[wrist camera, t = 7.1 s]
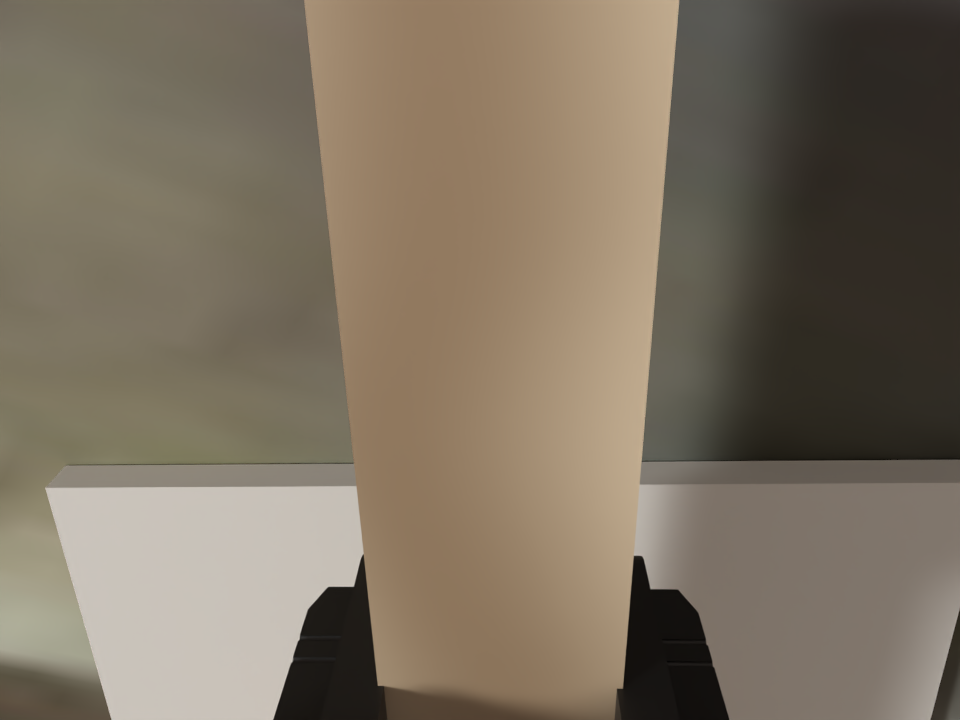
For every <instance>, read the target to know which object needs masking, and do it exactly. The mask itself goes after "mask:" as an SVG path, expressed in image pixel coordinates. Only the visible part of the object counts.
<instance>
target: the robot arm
mask: <svg viewBox="0 0 960 720" xmlns="http://www.w3.org/2000/svg"><path fill="white" fill-rule="evenodd" d="M273 720H387V712H386V702H385V692H384V686H378V682H377V673H376V664H375V654H374V645H373V636H372V626H371V617H370V608H369V599H368V589H367V580H366V571H365V561H364V554H363V555H362V557H361V560H360V564H359V568H358V572H357V576H356V580H355V584H354V587H327V589H326V590H325V591H324V592H323V593H322V594H321V595H320V596H319V597H318V599H317V600H316V601H315V602H314V603H313V604H312V605H311V606H310V607H309V609H308V610H307V614H306V617H305V620H304V623H303V626H302V630H301V633H300V640H299V641H298V642H297V645H296V649H295V652H294V655H293V662H291V665H290V668H289V671H288V674H287V677H286V680H285V684H284V687H283V690H282V693H281V696H280V699H279V703H278V706H277V709H276V712H275V715H274V719H273ZM614 720H729V716H728V713H727V709H726V706H725V702H724V699H723V696H722V692H721V689H720V685H719V682H718V678H717V675H716V671H715V668H714V667H713V661H712V658H711V654H710V651H709V647H708V645H707V644H706V637H705V634H704V630H703V627H702V623H701V620H700V616H699V613H698V612H697V610H696V609H695V608H694V607H693V606H692V605H691V604H690V602H689V601H688V600H687V599H686V598H685V597H684V596H683V594H682V593H681V592H680V591H679V590H678V589H650V584H649V580H648V575H647V571H646V566H645V562H644V559H643V557H642V556H634V559H633V571H632V583H631V596H630V608H629V620H628V632H627V645H626V657H625V669H624V681H623V689H617V693H616V706H615V719H614Z"/></svg>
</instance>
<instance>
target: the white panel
mask: <svg viewBox="0 0 960 720" xmlns="http://www.w3.org/2000/svg"><path fill="white" fill-rule="evenodd" d="M46 492H47V495H48V499H49V502H50V506H51V509H52V513H53V516H54V520H55V523H56V527H57V530H58V534H59V537H60V541H61V544H62V548H63V551H64V555H65V558H66V562H67V565H68V569H69V572H70V576H71V579H72V583H73V586H74V590H75V593H76V597H77V600H78V604H79V607H80V611H81V614H82V618H83V621H84V625H85V628H86V632H87V635H88V639H89V642H90V646H91V649H92V653H93V656H94V660H95V663H96V667H97V670H98V674H99V677H100V681H101V684H102V688H103V691H104V695H105V698H106V702H107V705H108V709H109V712H110V716H111V719H112V720H273V719H274V715H275V712H276V709H277V706H278V703H279V699H280V696H281V693H282V690H283V687H284V684H285V680H286V677H287V674H288V671H289V668H290V665H291V662H293V655H294V652H295V649H296V645H297V642H298V641H299V640H300V633H301V630H302V626H303V623H304V620H305V617H306V614H307V610H308V609H309V607H310V606H311V605H312V604H313V603H314V602H315V601H316V600H317V599H318V597H319V596H320V595H321V594H322V593H323V592H324V591H325V590H326V589H327V587H354V584H355V580H356V576H357V572H358V568H359V564H360V560H361V557H362V555H363V554H364V552H363V543H362V533H361V524H360V515H359V505H358V496H357V487H356V478H355V468H354V464H224V465H74V466H65V467H64V468H63V469H62V470H61V471H60V472H59V473H58V474H57V476H56V477H55V478H54V479H53V480H52V481H51V482H50V483H49V484H48V486H47V487H46ZM634 556H642V557H643V559H644V562H645V566H646V571H647V575H648V580H649V584H650V589H678V590H679V591H680V592H681V593H682V594H683V596H684V597H685V598H686V599H687V600H688V601H689V602H690V604H691V605H692V606H693V607H694V608H695V609H696V610H697V612H698V613H699V616H700V620H701V623H702V627H703V630H704V634H705V637H706V644H707V645H708V647H709V651H710V654H711V658H712V661H713V667H714V668H715V671H716V675H717V678H718V682H719V685H720V689H721V692H722V696H723V699H724V702H725V706H726V709H727V713H728V716H729V720H930V719H931V716H932V712H933V708H934V704H935V701H936V697H937V693H938V689H939V685H940V682H941V678H942V674H943V670H944V666H945V663H946V659H947V655H948V651H949V648H950V644H951V640H952V636H953V632H954V629H955V625H956V621H957V617H958V614H959V610H960V460H825V461H675V462H641V473H640V485H639V498H638V510H637V522H636V534H635V547H634Z"/></svg>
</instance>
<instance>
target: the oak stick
mask: <svg viewBox="0 0 960 720" xmlns="http://www.w3.org/2000/svg"><path fill="white" fill-rule="evenodd" d="M304 3H305V12H306V21H307V31H308V40H309V49H310V59H311V68H312V77H313V87H314V96H315V105H316V114H317V124H318V133H319V142H320V152H321V161H322V170H323V180H324V189H325V198H326V208H327V217H328V226H329V235H330V245H331V254H332V263H333V273H334V282H335V291H336V301H337V310H338V319H339V329H340V338H341V347H342V357H343V366H344V375H345V384H346V394H347V403H348V412H349V422H350V431H351V440H352V450H353V459H354V468H355V478H356V487H357V496H358V505H359V515H360V524H361V533H362V543H363V552H364V561H365V571H366V580H367V589H368V599H369V608H370V617H371V626H372V636H373V645H374V654H375V664H376V673H377V682H378V686H384V692H385V702H386V712H387V720H614V719H615V706H616V693H617V689H623V681H624V669H625V657H626V645H627V632H628V620H629V608H630V596H631V583H632V571H633V559H634V547H635V534H636V522H637V510H638V498H639V485H640V473H641V461H642V449H643V436H644V424H645V412H646V400H647V387H648V375H649V363H650V351H651V338H652V326H653V314H654V302H655V289H656V277H657V265H658V253H659V240H660V228H661V216H662V204H663V191H664V179H665V167H666V155H667V142H668V130H669V118H670V106H671V93H672V81H673V69H674V57H675V44H676V32H677V20H678V8H679V0H304Z"/></svg>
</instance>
